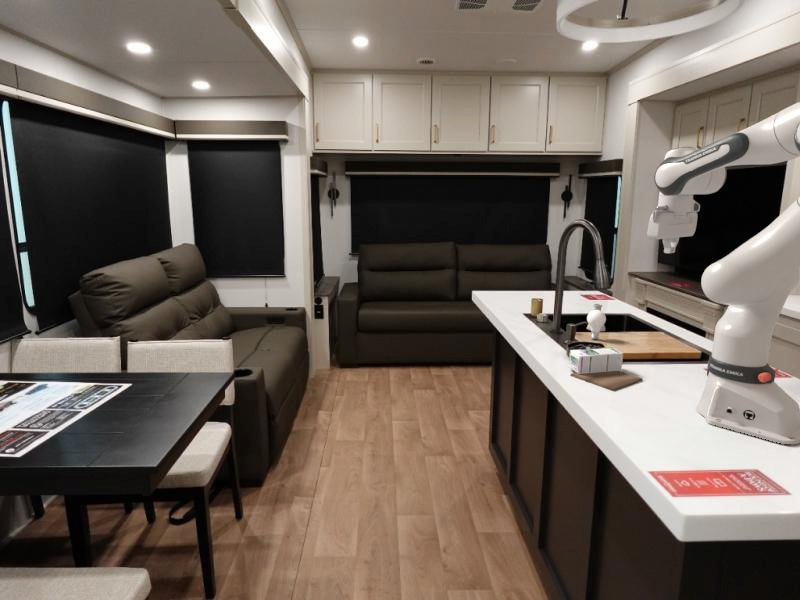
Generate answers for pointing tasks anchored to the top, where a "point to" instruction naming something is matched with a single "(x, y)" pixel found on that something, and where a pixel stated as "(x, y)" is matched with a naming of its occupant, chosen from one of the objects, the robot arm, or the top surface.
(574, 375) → the walnut board
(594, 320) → the lightbulb
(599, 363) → the syrup box
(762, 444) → the top surface
